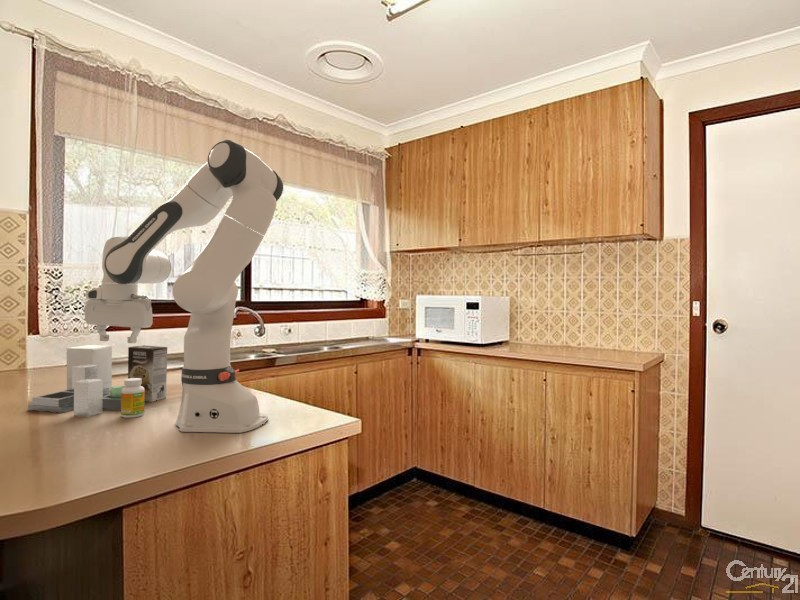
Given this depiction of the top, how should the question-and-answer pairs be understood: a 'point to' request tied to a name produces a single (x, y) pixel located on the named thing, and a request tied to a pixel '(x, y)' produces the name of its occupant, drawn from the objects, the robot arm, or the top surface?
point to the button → (116, 391)
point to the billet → (88, 397)
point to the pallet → (66, 392)
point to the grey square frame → (111, 403)
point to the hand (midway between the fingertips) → (118, 342)
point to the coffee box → (149, 369)
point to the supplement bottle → (132, 398)
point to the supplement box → (91, 361)
